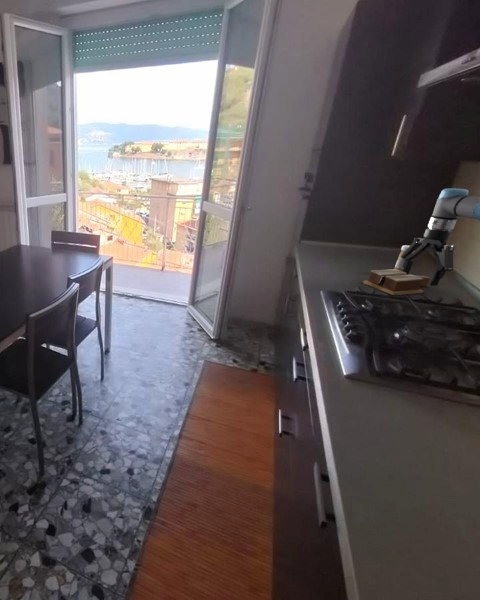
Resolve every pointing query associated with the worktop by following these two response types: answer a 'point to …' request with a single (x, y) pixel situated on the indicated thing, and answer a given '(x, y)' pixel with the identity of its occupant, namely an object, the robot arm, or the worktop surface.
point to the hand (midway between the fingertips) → (418, 280)
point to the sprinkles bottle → (401, 260)
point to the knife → (425, 280)
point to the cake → (395, 282)
